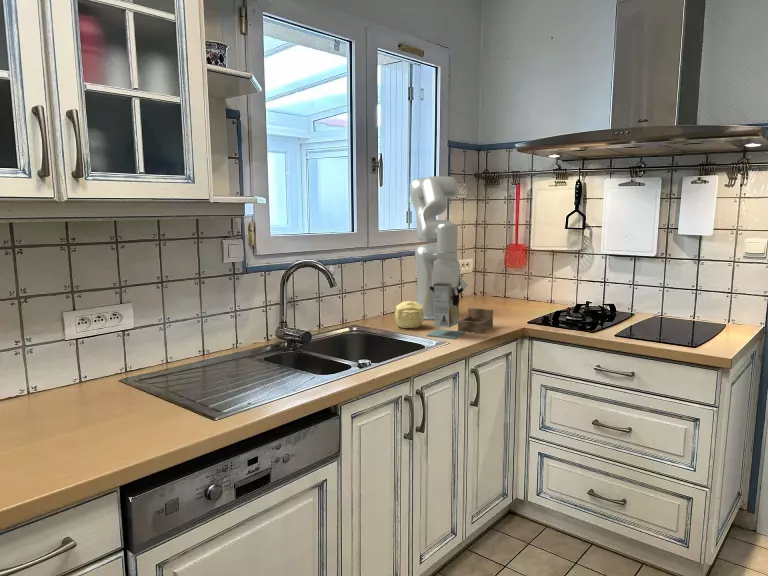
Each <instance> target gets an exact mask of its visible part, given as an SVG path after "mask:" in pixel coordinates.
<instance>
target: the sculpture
mask: <svg viewBox="0 0 768 576" xmlns="http://www.w3.org/2000/svg"><path fill="white" fill-rule="evenodd" d="M423 308H424V306H423V305H421V304H419V303H417V300H415V301H413V300H412V301H411V300H407V301H406V300H405V301H404V300H403V301H401V302H400V303H398V304H397V305H396V306H395V312H394V320H395V323H396V325H397V326H398V327H399V328H402V329H405V328H414V329H417V328H419V327H421V325H422V324H423V322H424V319H423V318H424V312H423Z"/></svg>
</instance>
